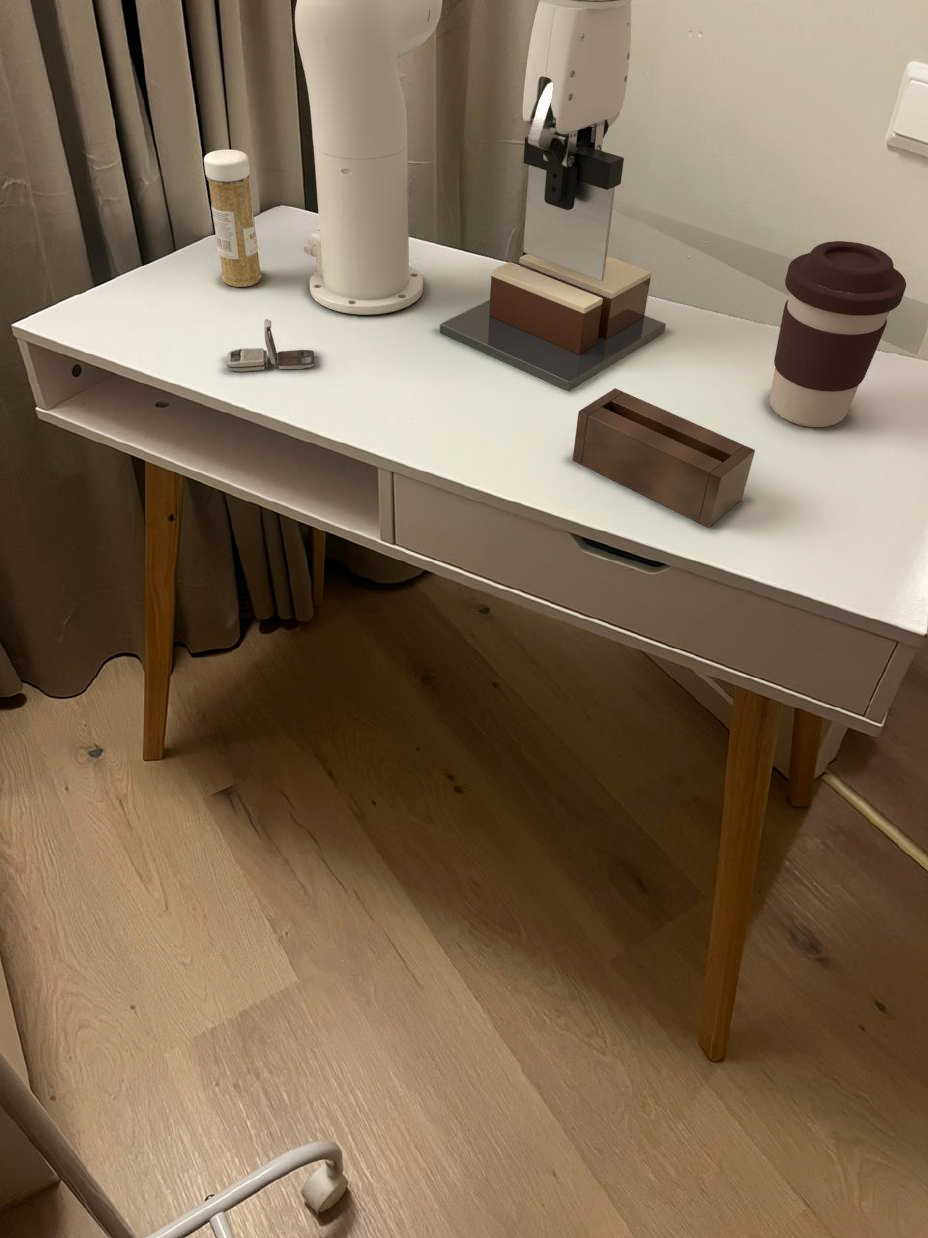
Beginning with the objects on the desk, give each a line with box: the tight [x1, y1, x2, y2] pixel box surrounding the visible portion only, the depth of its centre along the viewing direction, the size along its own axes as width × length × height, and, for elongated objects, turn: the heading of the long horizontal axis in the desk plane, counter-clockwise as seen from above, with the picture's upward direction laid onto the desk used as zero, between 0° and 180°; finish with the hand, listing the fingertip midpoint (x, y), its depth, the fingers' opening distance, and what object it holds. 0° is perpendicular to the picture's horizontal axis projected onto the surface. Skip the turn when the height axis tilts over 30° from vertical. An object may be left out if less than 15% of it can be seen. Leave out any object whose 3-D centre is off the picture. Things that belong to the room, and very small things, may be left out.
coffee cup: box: [769, 240, 907, 428], centre depth 90 cm, size 10×10×15 cm
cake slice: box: [489, 261, 603, 355], centre depth 102 cm, size 12×3×5 cm, turn 48°
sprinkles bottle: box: [203, 149, 263, 288], centre depth 108 cm, size 5×5×13 cm
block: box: [572, 387, 756, 528], centre depth 84 cm, size 14×5×5 cm, turn 48°
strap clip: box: [226, 319, 316, 373], centre depth 97 cm, size 8×3×4 cm, turn 98°
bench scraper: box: [523, 135, 625, 281], centre depth 96 cm, size 10×2×11 cm, turn 48°
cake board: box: [439, 253, 667, 392], centre depth 103 cm, size 17×17×6 cm
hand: (568, 200), depth 96 cm, fingers closed on bench scraper, 2 cm apart
